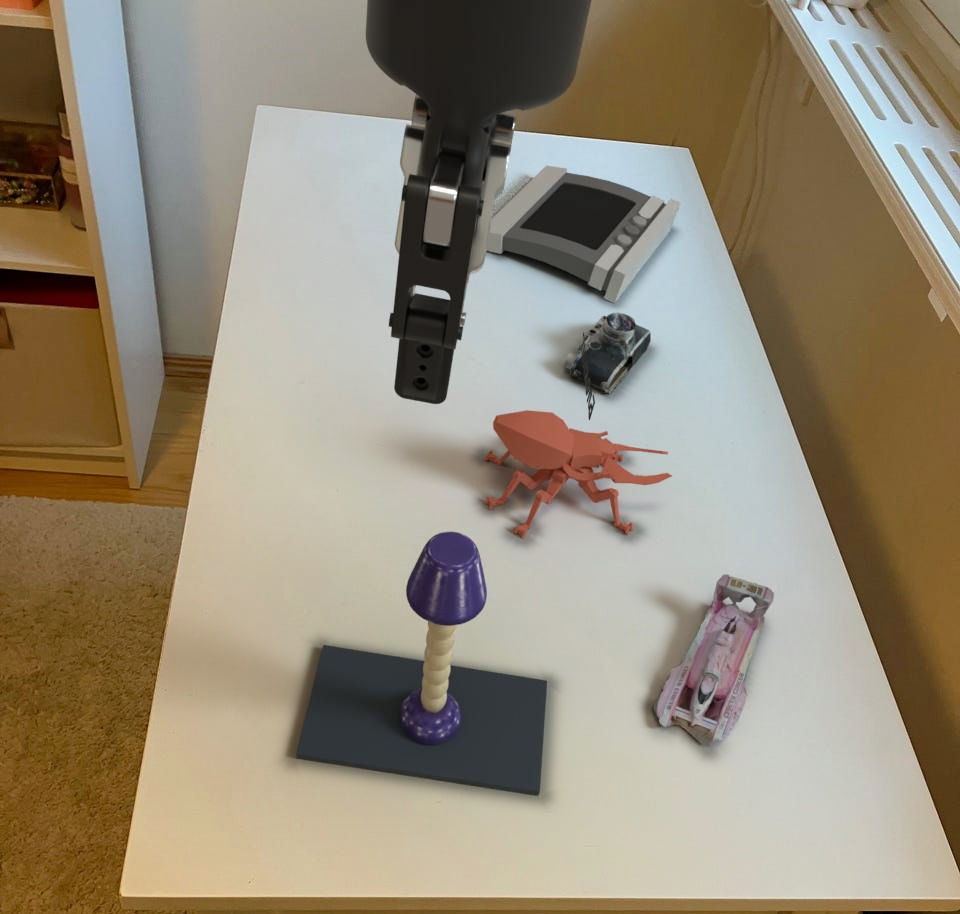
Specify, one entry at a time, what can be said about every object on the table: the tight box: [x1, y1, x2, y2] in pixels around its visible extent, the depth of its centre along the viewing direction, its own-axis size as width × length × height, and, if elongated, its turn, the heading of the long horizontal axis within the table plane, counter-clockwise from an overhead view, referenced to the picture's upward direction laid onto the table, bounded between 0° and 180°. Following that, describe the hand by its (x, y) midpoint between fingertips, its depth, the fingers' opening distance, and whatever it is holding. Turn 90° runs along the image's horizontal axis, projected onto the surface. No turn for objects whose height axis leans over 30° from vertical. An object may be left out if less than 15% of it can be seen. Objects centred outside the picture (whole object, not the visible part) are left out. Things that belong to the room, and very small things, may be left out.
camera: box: [563, 312, 652, 394], centre depth 93 cm, size 5×10×4 cm, turn 149°
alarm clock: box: [486, 165, 682, 304], centre depth 106 cm, size 17×5×16 cm
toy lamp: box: [399, 531, 488, 745], centre depth 61 cm, size 5×5×17 cm
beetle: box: [483, 331, 673, 539], centre depth 79 cm, size 15×12×13 cm
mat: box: [296, 644, 548, 797], centre depth 68 cm, size 16×9×1 cm, turn 84°
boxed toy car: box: [653, 574, 775, 747], centre depth 72 cm, size 13×6×4 cm, turn 155°
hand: (433, 336), depth 45 cm, fingers open, 8 cm apart
